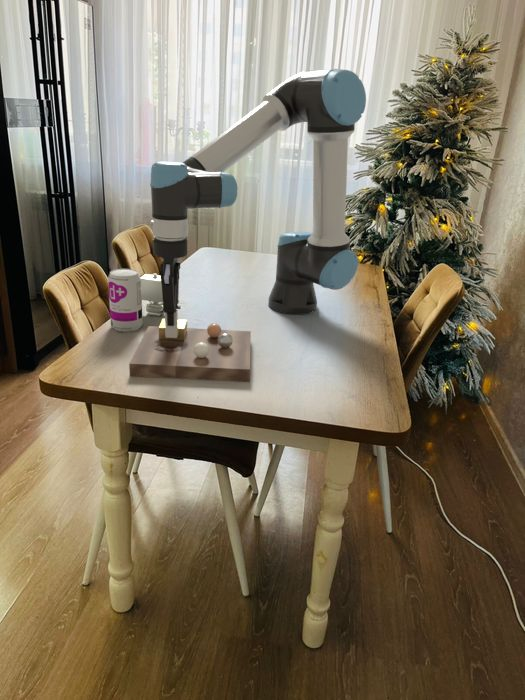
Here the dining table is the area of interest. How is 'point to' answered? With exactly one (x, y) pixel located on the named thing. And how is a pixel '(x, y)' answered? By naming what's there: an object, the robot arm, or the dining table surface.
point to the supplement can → (125, 300)
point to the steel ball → (225, 340)
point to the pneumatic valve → (152, 294)
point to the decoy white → (201, 350)
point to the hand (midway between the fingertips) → (171, 336)
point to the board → (192, 356)
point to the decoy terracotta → (214, 330)
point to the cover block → (181, 330)
